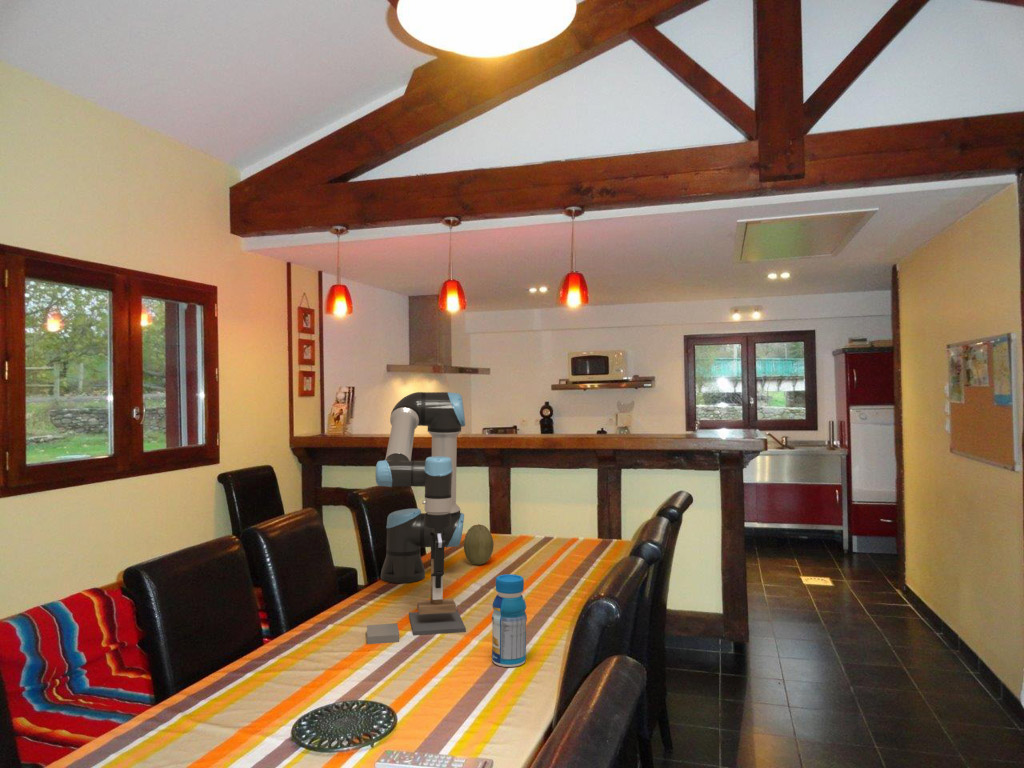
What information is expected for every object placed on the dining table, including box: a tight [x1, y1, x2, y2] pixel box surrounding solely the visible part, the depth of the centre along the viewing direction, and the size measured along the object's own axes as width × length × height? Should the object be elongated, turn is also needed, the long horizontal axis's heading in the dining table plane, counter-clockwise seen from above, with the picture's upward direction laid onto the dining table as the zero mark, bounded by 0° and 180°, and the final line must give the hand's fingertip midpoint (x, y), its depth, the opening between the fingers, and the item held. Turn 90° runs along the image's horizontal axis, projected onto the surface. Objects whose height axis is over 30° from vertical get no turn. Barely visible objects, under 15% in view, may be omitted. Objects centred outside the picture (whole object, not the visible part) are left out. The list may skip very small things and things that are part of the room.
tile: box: [366, 622, 400, 645], centre depth 178 cm, size 2×8×9 cm
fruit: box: [463, 523, 495, 566], centre depth 257 cm, size 11×11×15 cm
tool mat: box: [408, 609, 467, 636], centre depth 189 cm, size 16×14×1 cm
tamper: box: [416, 558, 457, 614], centre depth 189 cm, size 6×10×14 cm, turn 103°
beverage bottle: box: [491, 573, 528, 668], centre depth 163 cm, size 8×8×20 cm
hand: (436, 596), depth 189 cm, fingers closed on tamper, 3 cm apart
